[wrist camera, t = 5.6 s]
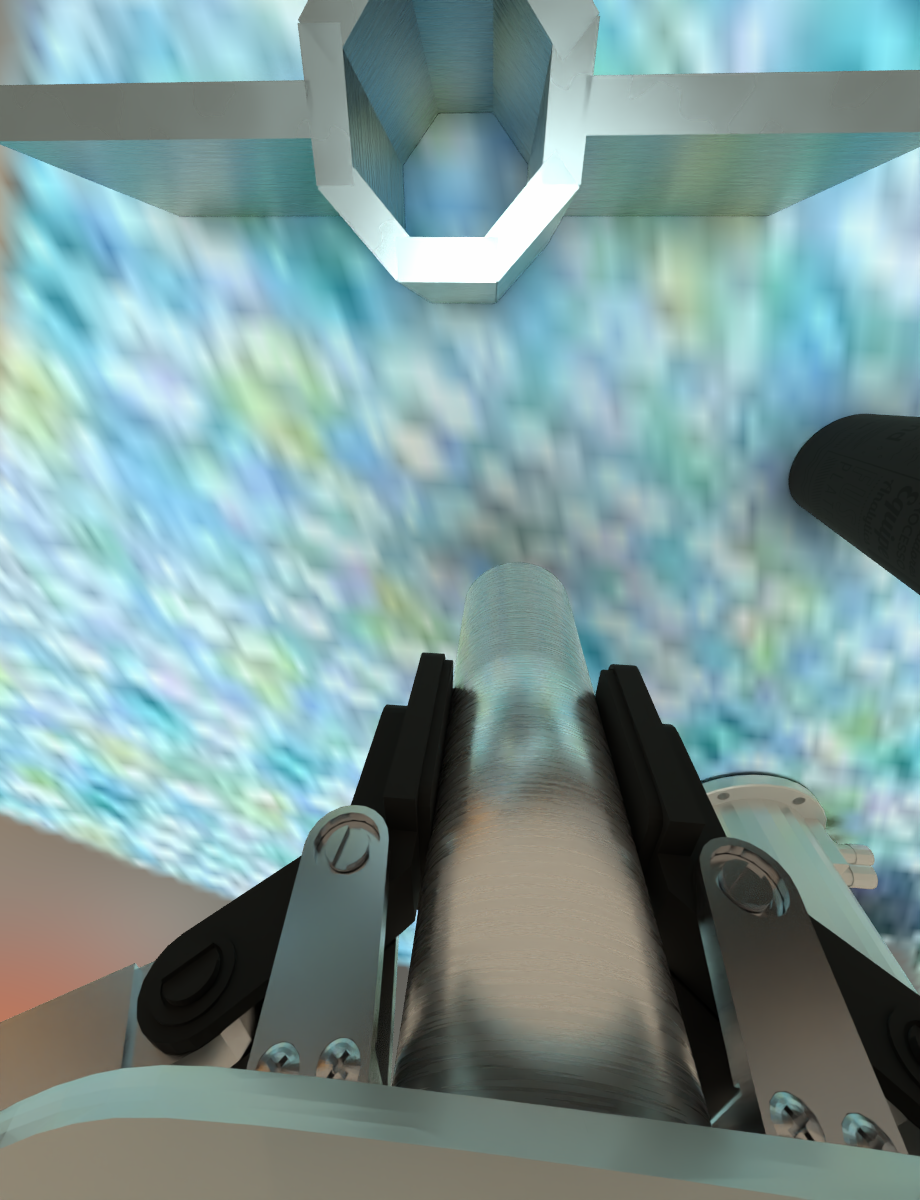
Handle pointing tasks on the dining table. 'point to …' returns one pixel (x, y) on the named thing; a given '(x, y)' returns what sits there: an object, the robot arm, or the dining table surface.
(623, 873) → the hinge pin
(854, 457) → the drinking cup
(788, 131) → the hinge
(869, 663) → the dining table surface
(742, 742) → the dining table surface
